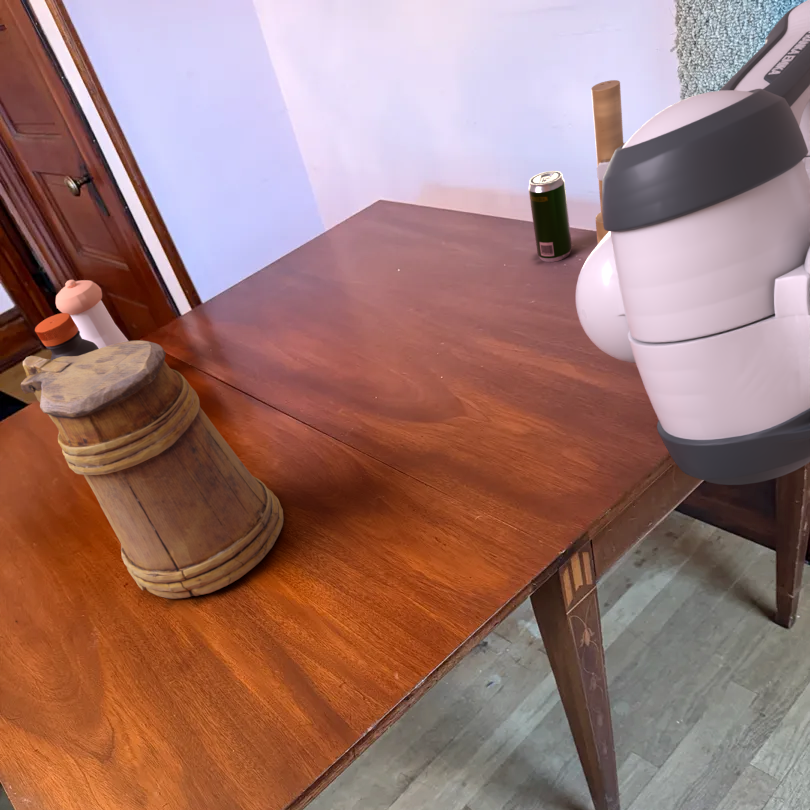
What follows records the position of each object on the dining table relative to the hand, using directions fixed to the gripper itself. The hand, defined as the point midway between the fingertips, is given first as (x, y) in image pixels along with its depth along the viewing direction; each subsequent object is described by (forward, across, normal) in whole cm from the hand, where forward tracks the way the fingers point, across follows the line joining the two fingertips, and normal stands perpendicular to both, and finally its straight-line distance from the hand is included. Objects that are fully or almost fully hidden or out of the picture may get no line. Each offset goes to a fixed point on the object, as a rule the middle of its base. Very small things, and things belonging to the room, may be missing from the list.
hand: (603, 162), depth 86 cm
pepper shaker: (+76, -17, -21) cm, 80 cm away
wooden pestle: (-1, 0, -9) cm, 9 cm away
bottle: (+65, -31, -21) cm, 75 cm away
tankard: (+39, -48, -21) cm, 65 cm away
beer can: (+14, +22, -21) cm, 34 cm away
